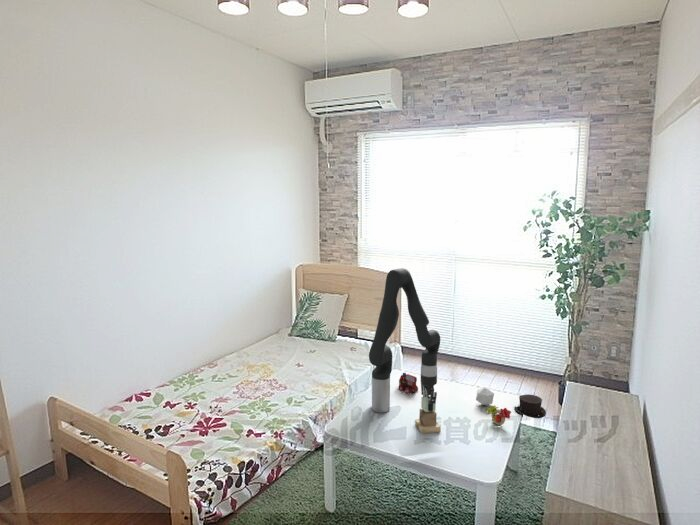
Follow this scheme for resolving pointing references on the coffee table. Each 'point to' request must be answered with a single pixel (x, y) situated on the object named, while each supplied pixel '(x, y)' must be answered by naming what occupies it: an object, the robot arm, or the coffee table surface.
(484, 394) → the die
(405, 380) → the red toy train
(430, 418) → the walnut block
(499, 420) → the red and green cluster
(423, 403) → the sage green block
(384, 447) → the coffee table surface
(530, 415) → the top hat
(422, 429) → the oak plinth
